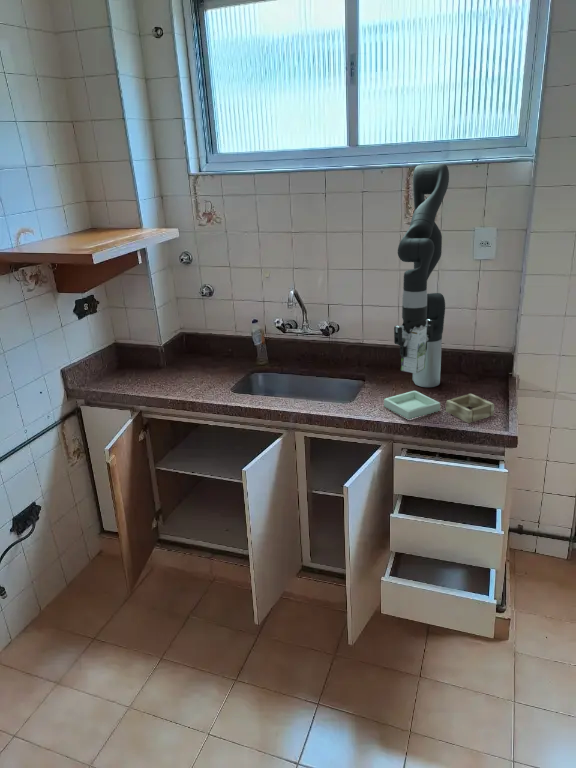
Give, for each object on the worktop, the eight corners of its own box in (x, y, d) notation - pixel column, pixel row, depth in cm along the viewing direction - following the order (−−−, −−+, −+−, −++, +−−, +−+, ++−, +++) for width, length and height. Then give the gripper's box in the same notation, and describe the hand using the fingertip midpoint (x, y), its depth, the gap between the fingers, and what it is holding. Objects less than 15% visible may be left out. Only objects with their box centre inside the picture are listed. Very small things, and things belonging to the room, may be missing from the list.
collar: (445, 411, 190) (446, 400, 189) (469, 404, 195) (470, 393, 193) (468, 423, 182) (469, 411, 180) (493, 415, 186) (494, 403, 184)
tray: (383, 407, 196) (384, 398, 195) (414, 398, 202) (414, 390, 201) (408, 420, 186) (408, 412, 184) (440, 411, 191) (440, 402, 190)
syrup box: (409, 365, 192) (410, 323, 187) (425, 368, 189) (427, 325, 183) (400, 370, 188) (401, 327, 183) (417, 374, 185) (418, 330, 179)
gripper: (424, 298, 186) (423, 347, 193) (388, 305, 181) (388, 355, 187) (440, 302, 180) (438, 353, 186) (403, 310, 174) (402, 362, 180)
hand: (413, 354), depth 187 cm, fingers closed on syrup box, 7 cm apart
